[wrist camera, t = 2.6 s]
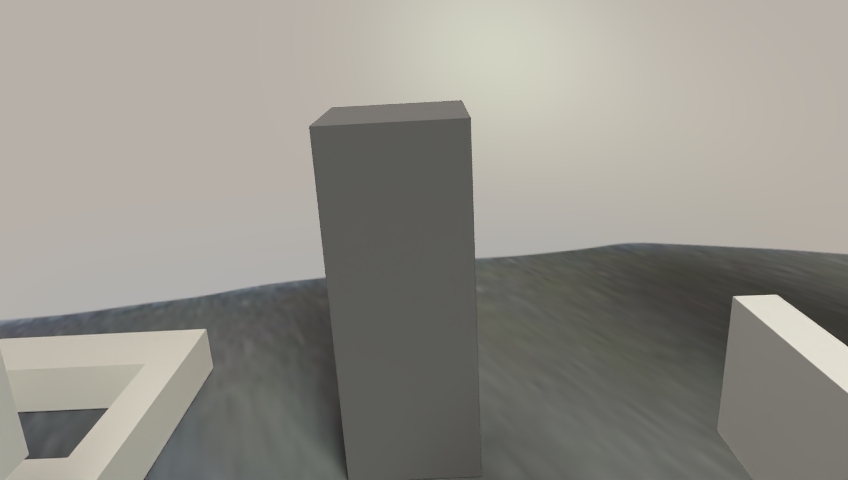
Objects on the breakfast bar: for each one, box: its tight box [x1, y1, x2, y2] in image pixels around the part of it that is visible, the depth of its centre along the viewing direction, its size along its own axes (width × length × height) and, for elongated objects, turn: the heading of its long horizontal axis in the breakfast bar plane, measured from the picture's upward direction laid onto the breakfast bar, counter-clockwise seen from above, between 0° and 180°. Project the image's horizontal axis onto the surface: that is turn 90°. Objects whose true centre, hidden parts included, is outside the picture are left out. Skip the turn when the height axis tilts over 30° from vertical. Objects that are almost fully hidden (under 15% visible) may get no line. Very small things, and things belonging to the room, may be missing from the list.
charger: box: [309, 100, 482, 480], centre depth 22 cm, size 4×5×12 cm
